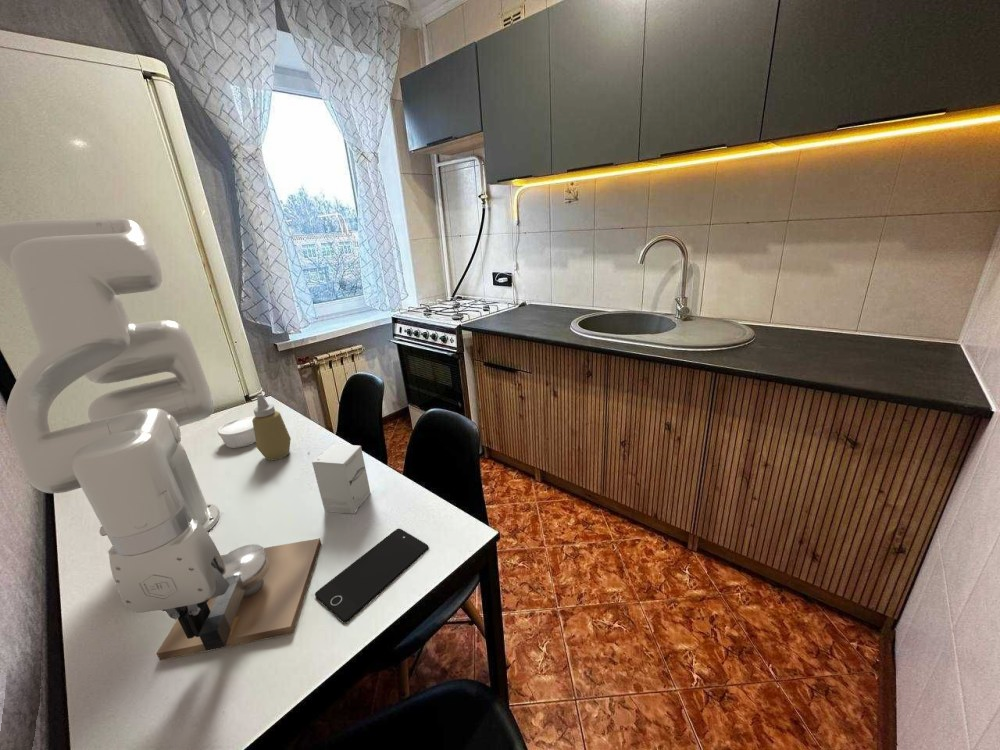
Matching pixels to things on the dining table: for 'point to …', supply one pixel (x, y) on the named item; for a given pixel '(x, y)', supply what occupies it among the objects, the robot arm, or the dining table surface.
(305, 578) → the post base
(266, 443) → the squeeze bottle
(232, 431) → the ramekin
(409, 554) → the cell phone
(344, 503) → the supplement box
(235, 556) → the square-handled spoon
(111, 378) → the robot arm
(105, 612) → the dining table surface
